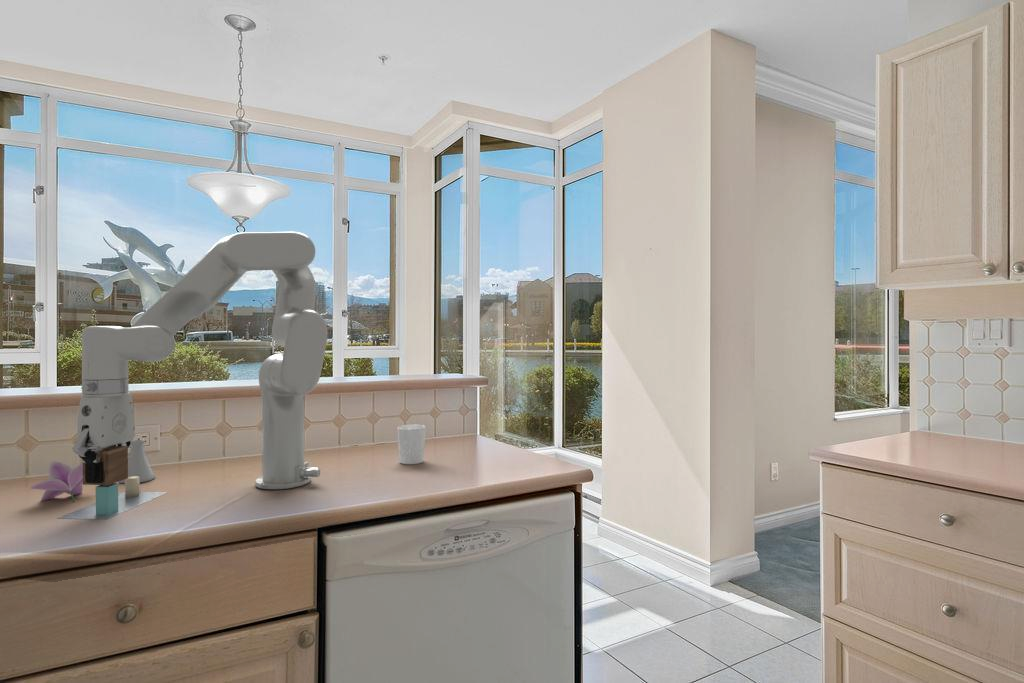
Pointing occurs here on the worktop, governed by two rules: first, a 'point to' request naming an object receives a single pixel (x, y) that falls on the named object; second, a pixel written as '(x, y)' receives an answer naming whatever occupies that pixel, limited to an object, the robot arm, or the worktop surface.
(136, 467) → the flask
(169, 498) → the worktop surface
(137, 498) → the slate stand
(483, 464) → the worktop surface
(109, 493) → the teal post
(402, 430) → the white cup
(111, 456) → the wooden grain cube
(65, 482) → the lily
